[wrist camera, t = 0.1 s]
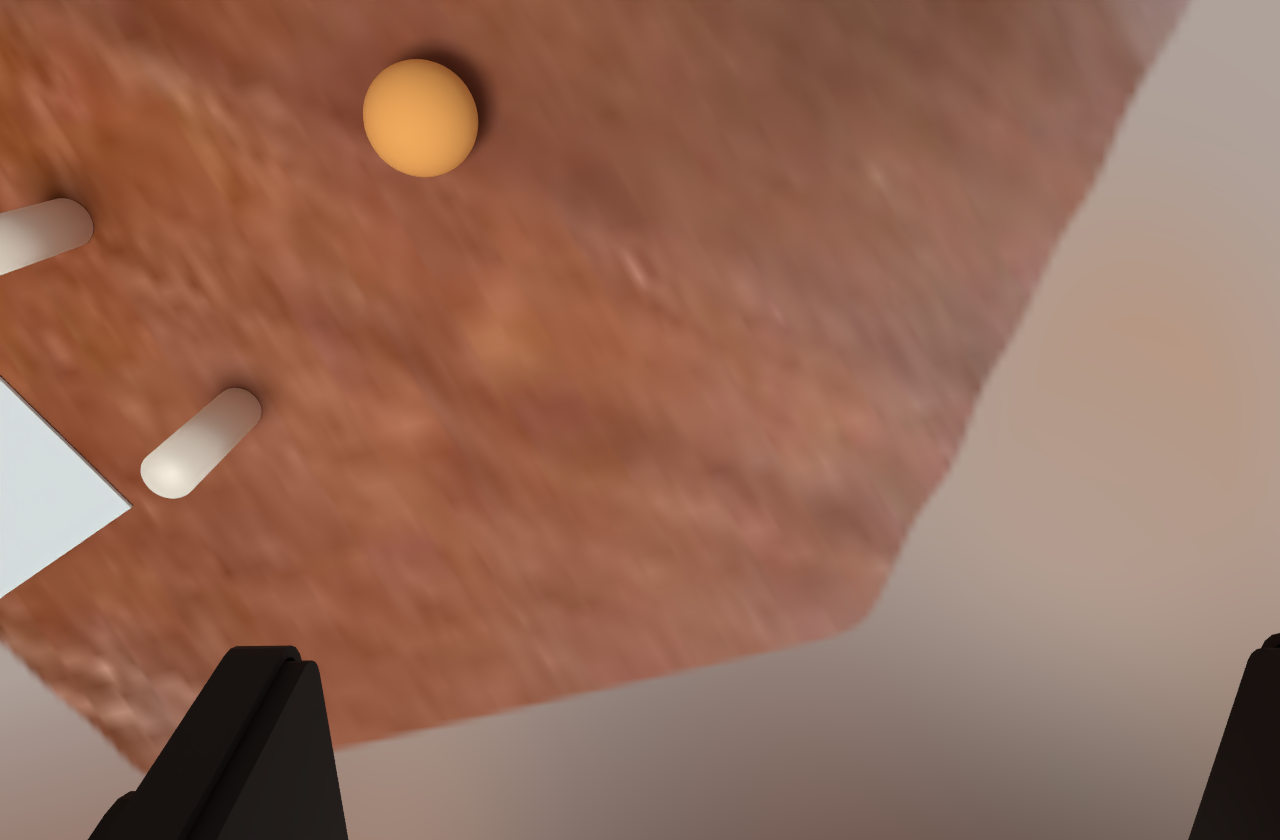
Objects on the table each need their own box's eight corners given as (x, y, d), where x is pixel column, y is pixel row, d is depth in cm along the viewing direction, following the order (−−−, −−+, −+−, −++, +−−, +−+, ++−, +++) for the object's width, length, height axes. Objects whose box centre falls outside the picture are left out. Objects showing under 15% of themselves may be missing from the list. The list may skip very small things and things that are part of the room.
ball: (356, 100, 41) (324, 105, 36) (440, 35, 40) (417, 33, 35) (424, 190, 43) (401, 206, 38) (506, 131, 42) (492, 140, 37)
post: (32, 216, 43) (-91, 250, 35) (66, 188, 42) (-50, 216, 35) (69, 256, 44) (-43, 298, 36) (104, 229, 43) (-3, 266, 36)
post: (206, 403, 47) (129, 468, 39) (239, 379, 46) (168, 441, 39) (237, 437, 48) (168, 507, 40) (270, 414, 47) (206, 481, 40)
